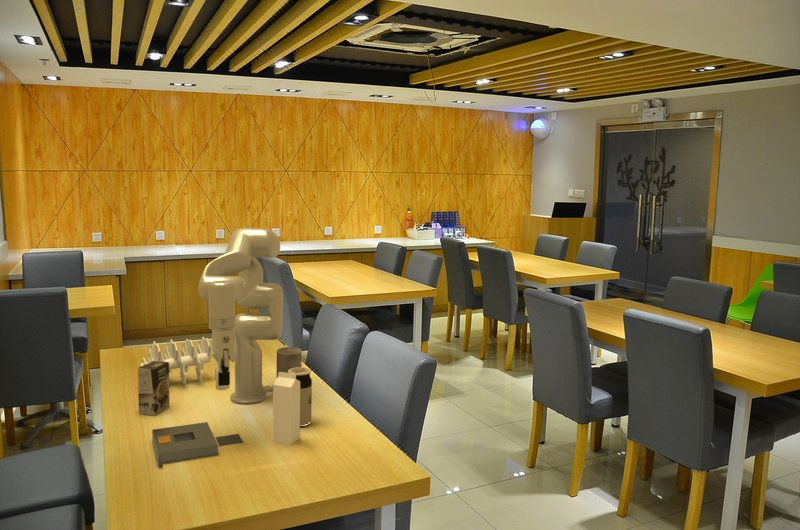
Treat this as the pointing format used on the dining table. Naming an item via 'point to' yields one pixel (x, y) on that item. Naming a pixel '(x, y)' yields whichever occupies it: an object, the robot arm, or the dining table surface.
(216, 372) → the peg
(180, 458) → the block
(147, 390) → the coffee box
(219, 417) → the dining table surface
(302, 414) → the travel mug
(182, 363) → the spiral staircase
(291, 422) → the milk
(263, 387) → the robot arm
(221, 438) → the pad
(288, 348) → the pillar candle
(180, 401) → the dining table surface
